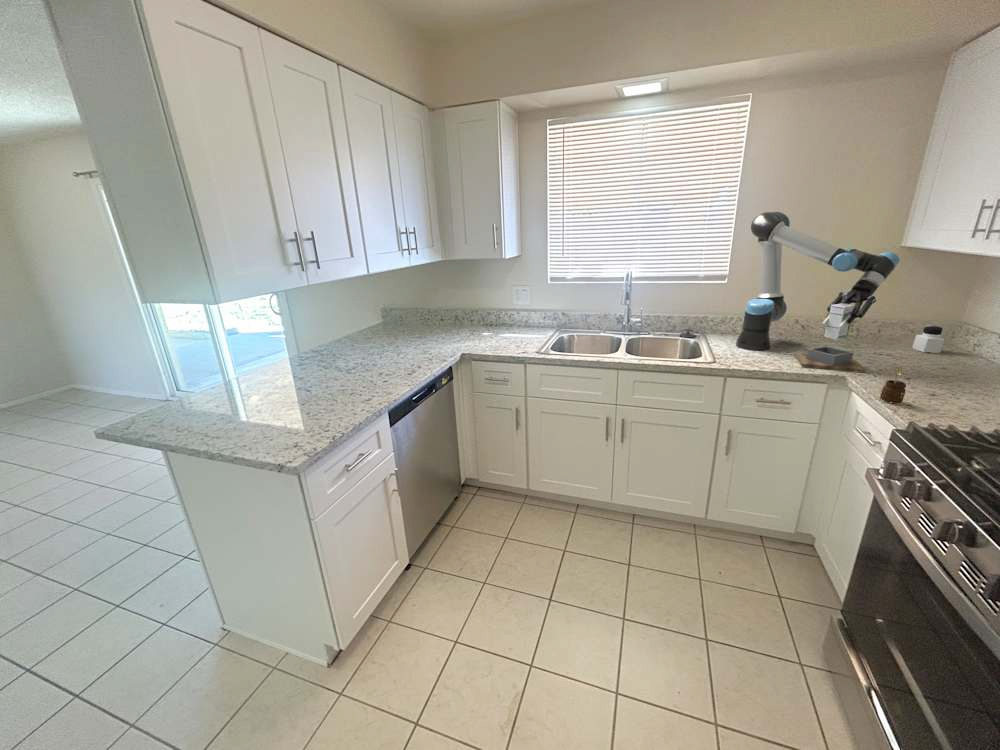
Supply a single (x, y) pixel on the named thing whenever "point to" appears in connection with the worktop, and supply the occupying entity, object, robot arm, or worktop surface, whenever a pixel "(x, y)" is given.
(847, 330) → the syrup box
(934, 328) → the medicine bottle
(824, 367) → the walnut board
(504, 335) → the worktop surface
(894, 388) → the brown potted plant
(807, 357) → the holder
